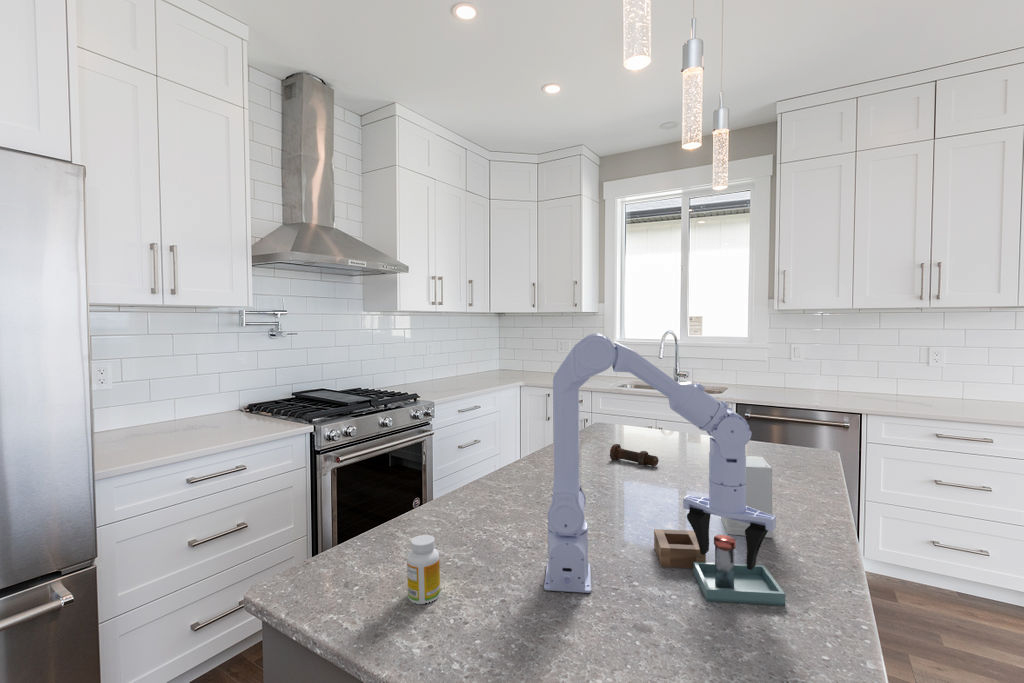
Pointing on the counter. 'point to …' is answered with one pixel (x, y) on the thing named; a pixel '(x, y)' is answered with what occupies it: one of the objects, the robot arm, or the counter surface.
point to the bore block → (677, 548)
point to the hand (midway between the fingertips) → (727, 559)
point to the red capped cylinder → (724, 561)
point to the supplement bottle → (423, 570)
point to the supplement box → (754, 494)
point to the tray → (740, 585)
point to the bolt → (633, 456)
